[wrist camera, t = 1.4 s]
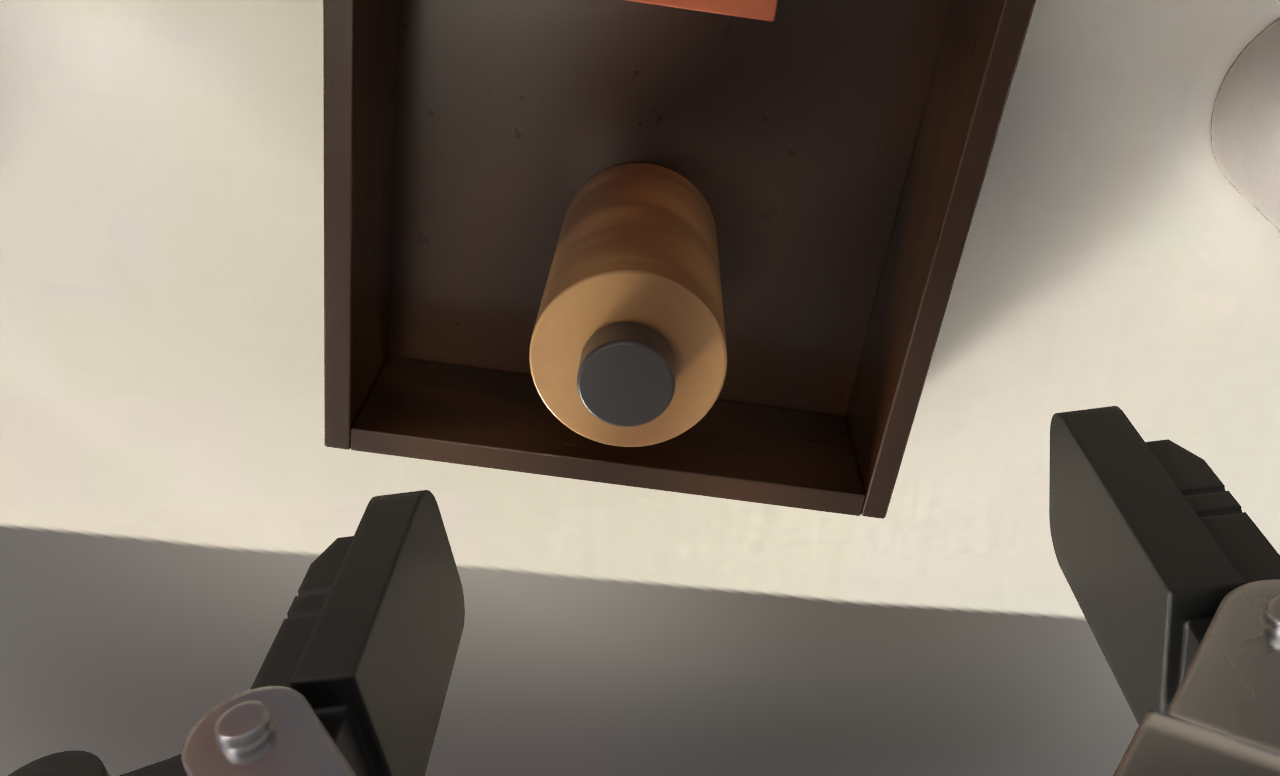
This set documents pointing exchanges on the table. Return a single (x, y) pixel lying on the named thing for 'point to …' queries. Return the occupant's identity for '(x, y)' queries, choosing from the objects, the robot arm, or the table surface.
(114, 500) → the table surface
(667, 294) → the pepper mill
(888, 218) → the tray
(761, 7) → the block
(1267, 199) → the coffee cup
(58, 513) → the table surface
